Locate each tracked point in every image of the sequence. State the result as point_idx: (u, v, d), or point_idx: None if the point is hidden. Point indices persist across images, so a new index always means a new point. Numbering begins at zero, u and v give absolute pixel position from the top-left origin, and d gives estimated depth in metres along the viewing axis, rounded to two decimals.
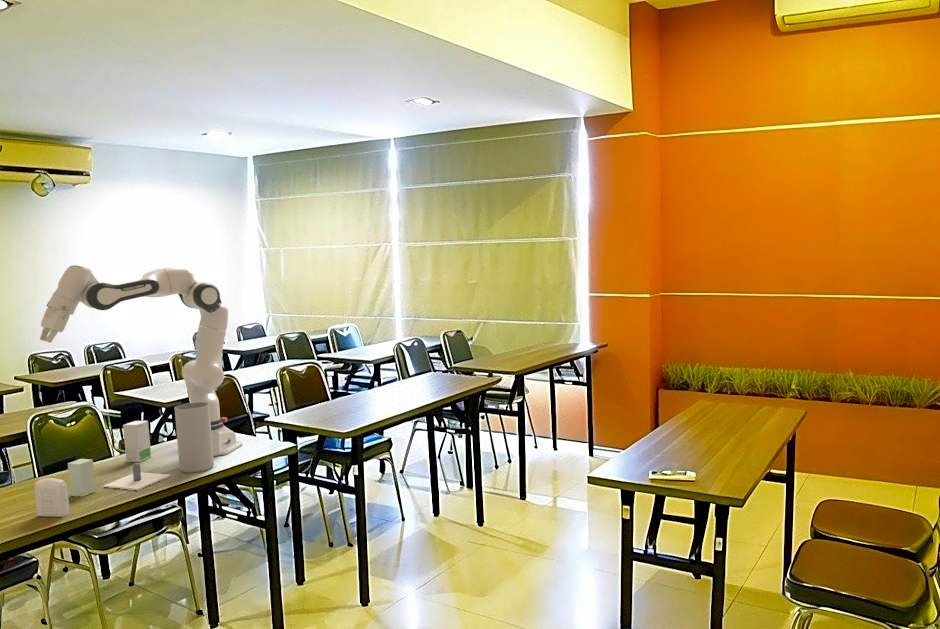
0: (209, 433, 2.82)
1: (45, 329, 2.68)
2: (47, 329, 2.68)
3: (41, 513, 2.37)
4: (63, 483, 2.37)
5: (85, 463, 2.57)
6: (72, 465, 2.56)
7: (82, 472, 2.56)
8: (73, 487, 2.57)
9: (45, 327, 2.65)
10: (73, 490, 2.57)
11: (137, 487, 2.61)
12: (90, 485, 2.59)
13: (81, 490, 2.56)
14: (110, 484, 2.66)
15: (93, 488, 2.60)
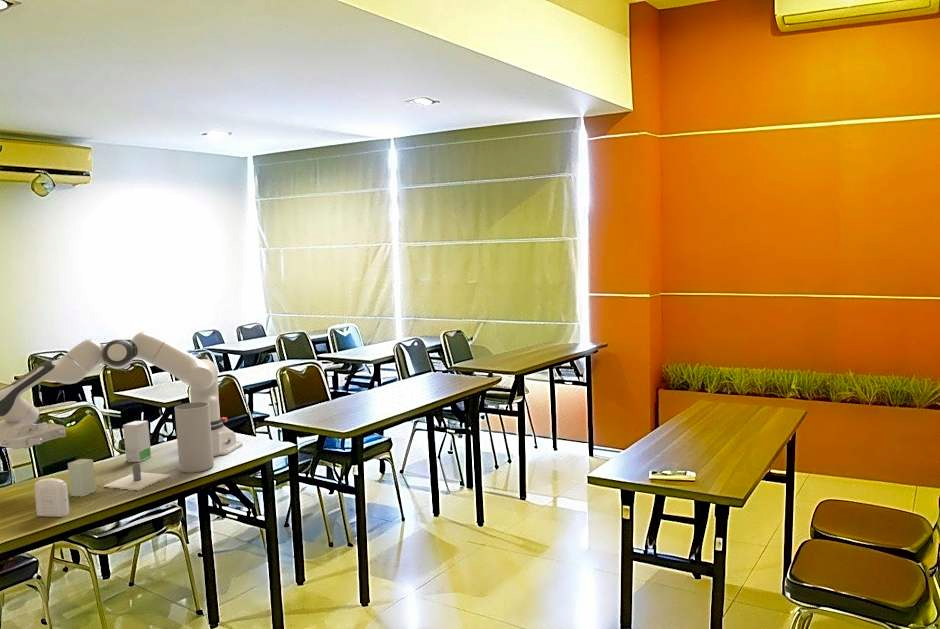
0: (209, 433, 2.82)
1: (56, 435, 2.68)
2: (56, 433, 2.68)
3: (41, 513, 2.37)
4: (63, 483, 2.37)
5: (85, 463, 2.57)
6: (72, 465, 2.56)
7: (82, 472, 2.56)
8: (73, 487, 2.57)
9: (49, 439, 2.65)
10: (73, 490, 2.57)
11: (137, 487, 2.61)
12: (90, 485, 2.59)
13: (81, 490, 2.56)
14: (110, 484, 2.66)
15: (93, 488, 2.60)
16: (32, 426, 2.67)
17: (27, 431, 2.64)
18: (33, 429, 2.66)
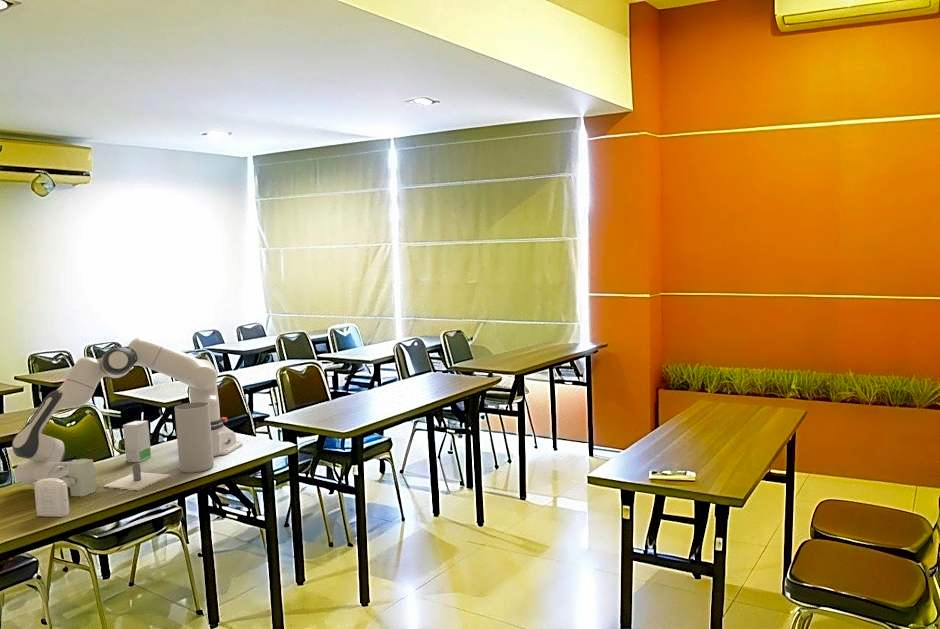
0: (209, 433, 2.82)
1: None
2: None
3: (41, 513, 2.37)
4: (63, 483, 2.37)
5: (85, 463, 2.57)
6: (72, 465, 2.56)
7: (82, 472, 2.56)
8: (73, 487, 2.57)
9: None
10: (73, 490, 2.57)
11: (137, 487, 2.61)
12: (90, 485, 2.59)
13: (81, 490, 2.56)
14: (110, 484, 2.66)
15: (93, 488, 2.60)
16: (62, 464, 2.64)
17: (58, 470, 2.61)
18: (63, 468, 2.63)
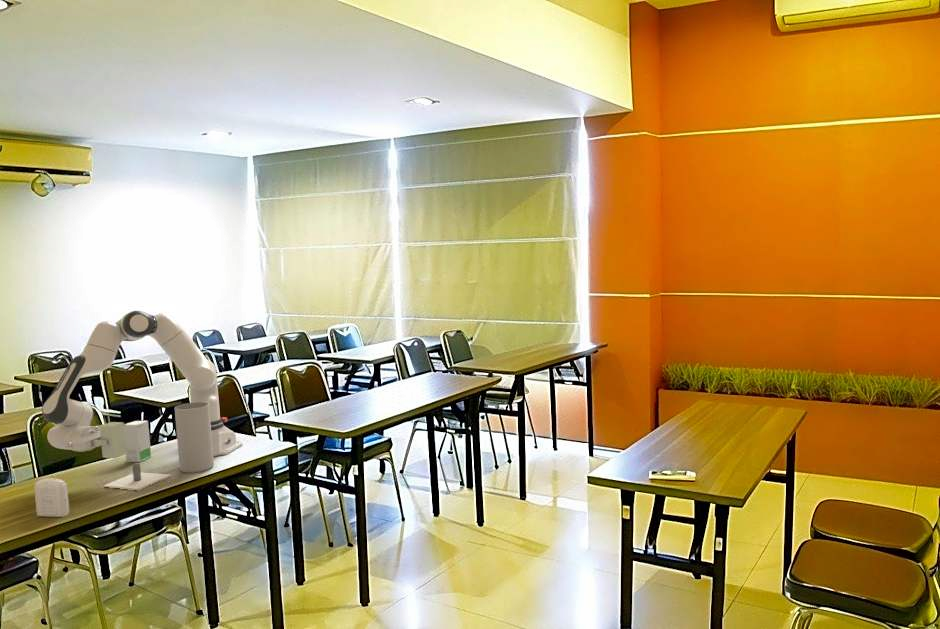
0: (209, 433, 2.82)
1: None
2: None
3: (41, 513, 2.37)
4: (63, 483, 2.37)
5: (116, 425, 2.62)
6: (104, 427, 2.61)
7: (114, 434, 2.61)
8: (105, 449, 2.62)
9: None
10: (105, 452, 2.62)
11: (137, 487, 2.61)
12: (121, 447, 2.64)
13: (113, 452, 2.61)
14: (110, 484, 2.66)
15: (124, 450, 2.65)
16: (93, 428, 2.70)
17: (89, 433, 2.66)
18: (95, 431, 2.68)
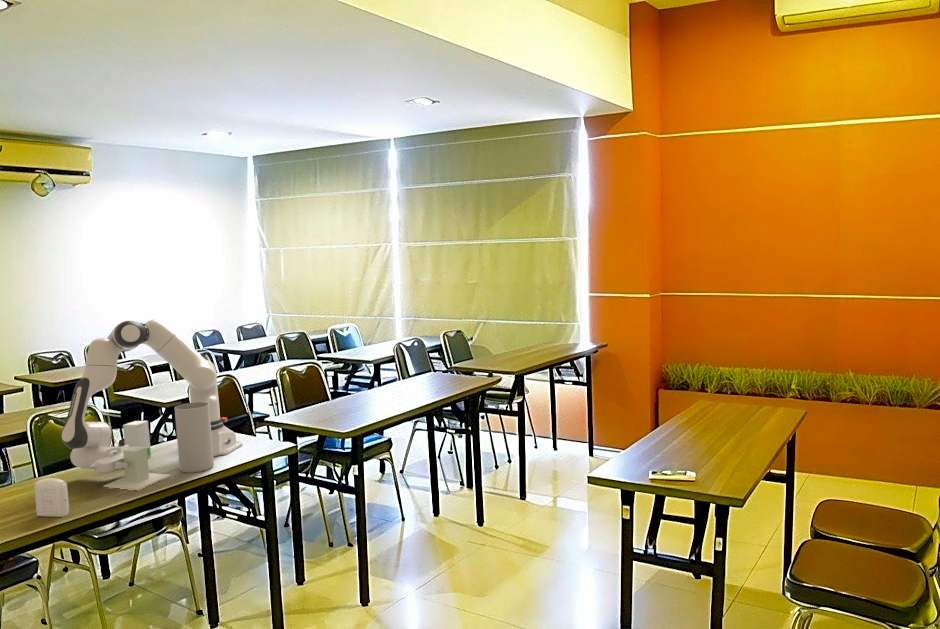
0: (209, 433, 2.82)
1: None
2: None
3: (41, 513, 2.37)
4: (63, 483, 2.37)
5: (140, 450, 2.67)
6: (127, 452, 2.66)
7: (137, 459, 2.66)
8: (128, 474, 2.67)
9: None
10: (128, 476, 2.68)
11: (137, 487, 2.61)
12: (144, 472, 2.69)
13: (136, 476, 2.66)
14: (110, 484, 2.66)
15: (147, 474, 2.71)
16: (116, 449, 2.75)
17: (112, 454, 2.71)
18: (117, 452, 2.73)
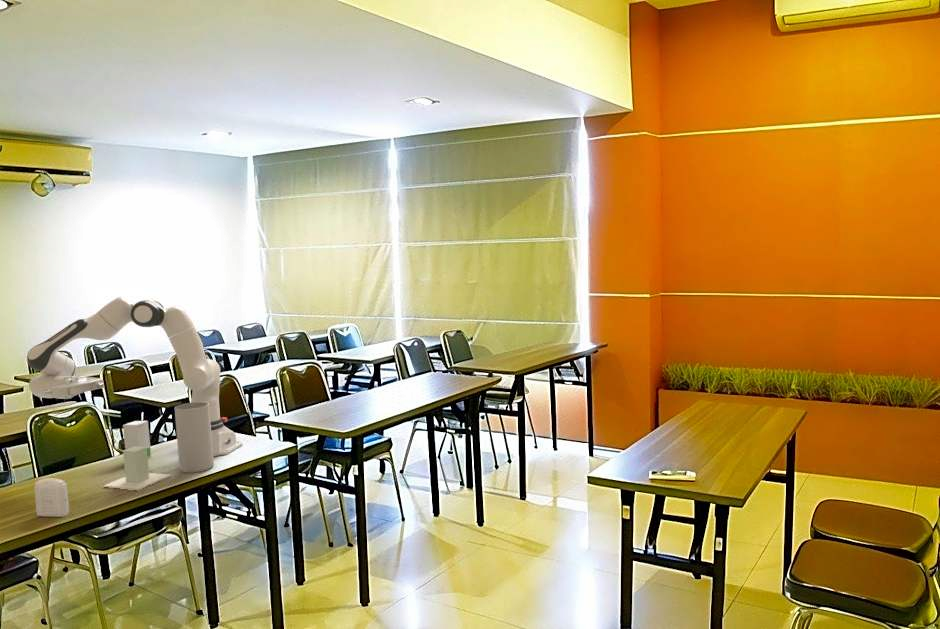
0: (209, 433, 2.82)
1: (95, 386, 2.84)
2: (94, 385, 2.84)
3: (41, 513, 2.37)
4: (63, 483, 2.37)
5: (140, 450, 2.67)
6: (127, 452, 2.66)
7: (137, 459, 2.66)
8: (128, 474, 2.67)
9: (88, 390, 2.82)
10: (128, 476, 2.68)
11: (137, 487, 2.61)
12: (144, 472, 2.69)
13: (136, 476, 2.66)
14: (110, 484, 2.66)
15: (147, 474, 2.71)
16: (72, 378, 2.84)
17: (68, 382, 2.80)
18: (73, 381, 2.82)
